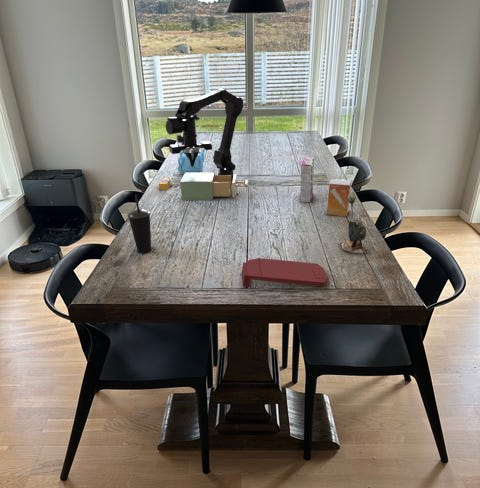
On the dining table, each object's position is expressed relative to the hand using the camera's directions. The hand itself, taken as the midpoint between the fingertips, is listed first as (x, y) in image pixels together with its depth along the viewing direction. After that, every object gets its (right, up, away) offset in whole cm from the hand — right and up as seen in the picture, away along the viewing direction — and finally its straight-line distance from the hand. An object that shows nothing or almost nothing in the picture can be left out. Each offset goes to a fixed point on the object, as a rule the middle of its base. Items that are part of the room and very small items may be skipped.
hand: (192, 166), depth 207 cm
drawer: (+16, -12, -1) cm, 21 cm away
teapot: (-3, +7, +34) cm, 35 cm away
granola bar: (-14, -7, +11) cm, 19 cm away
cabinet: (+3, -13, 0) cm, 13 cm away
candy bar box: (+51, -16, -8) cm, 54 cm away
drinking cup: (-12, -43, -49) cm, 66 cm away
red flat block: (+35, -53, -68) cm, 93 cm away
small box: (+62, -25, -24) cm, 71 cm away
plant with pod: (+61, -43, -53) cm, 91 cm away
